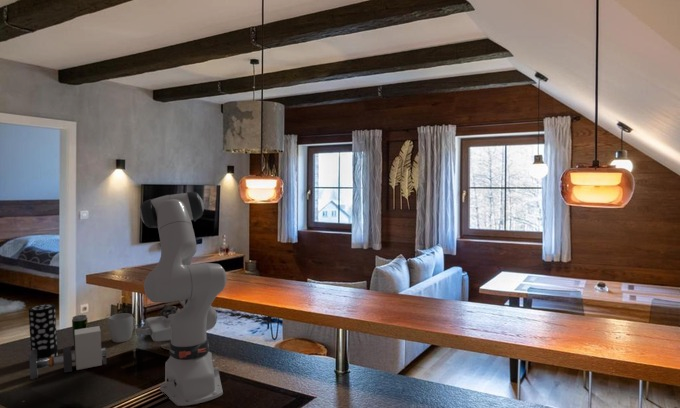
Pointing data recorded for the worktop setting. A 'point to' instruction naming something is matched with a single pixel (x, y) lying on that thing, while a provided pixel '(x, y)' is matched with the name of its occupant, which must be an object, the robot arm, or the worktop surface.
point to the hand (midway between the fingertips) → (135, 331)
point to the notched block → (88, 347)
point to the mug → (121, 327)
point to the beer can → (78, 324)
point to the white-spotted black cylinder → (43, 330)
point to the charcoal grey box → (67, 359)
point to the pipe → (51, 361)
